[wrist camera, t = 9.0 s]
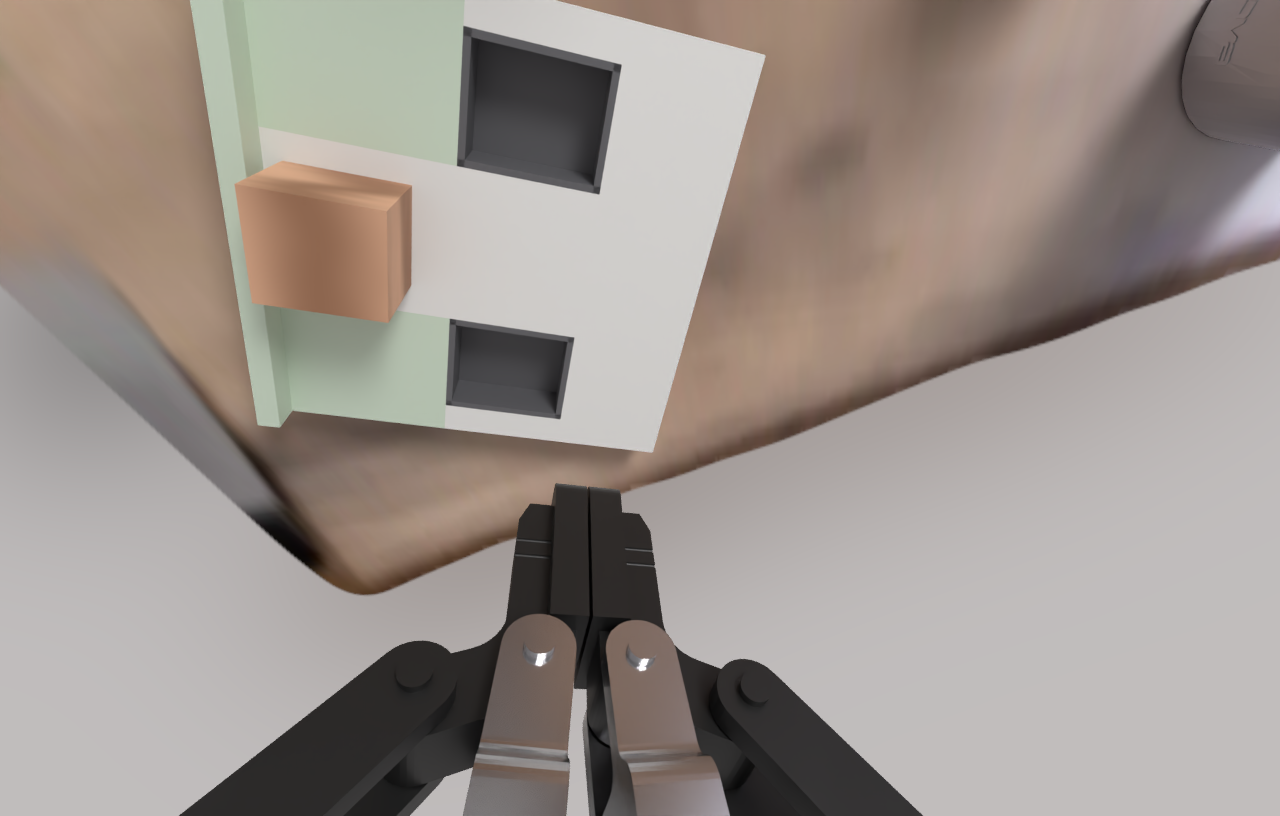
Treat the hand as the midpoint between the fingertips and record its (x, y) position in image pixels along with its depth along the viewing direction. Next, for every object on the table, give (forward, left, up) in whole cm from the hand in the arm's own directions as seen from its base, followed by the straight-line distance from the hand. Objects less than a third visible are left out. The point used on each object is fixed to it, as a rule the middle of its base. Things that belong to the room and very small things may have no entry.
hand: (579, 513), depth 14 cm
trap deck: (+4, 0, -19) cm, 19 cm away
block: (+10, 0, -16) cm, 19 cm away
